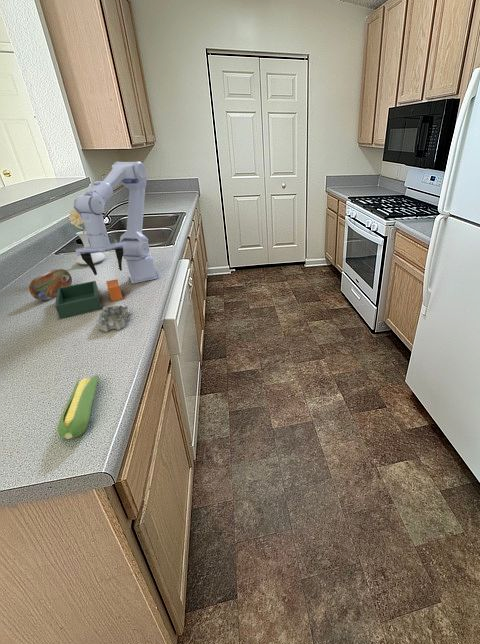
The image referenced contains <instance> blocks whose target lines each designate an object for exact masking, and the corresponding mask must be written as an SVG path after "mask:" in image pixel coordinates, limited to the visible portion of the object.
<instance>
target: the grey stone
mask: <svg viewBox="0 0 480 644" xmlns="http://www.w3.org/2000/svg"><path fill="white" fill-rule="evenodd" d="M128 310H129V307H128V305H124V306H123V305H110V306H106V305H105V306H103V308H102V310H101V311H100V313H99V315H98V317H97V318H96V319H95V323H96V324H97V326H99V329H100V331H103V332H105V333H107V332H109V331H111V330H113V329H116V330H117V331H119V330H121V329H123V328H125V327H126V323H127V322H128V317H129V316H130V314H129V311H128Z"/></svg>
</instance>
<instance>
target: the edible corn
mask: <svg viewBox="0 0 480 644" xmlns="http://www.w3.org/2000/svg"><path fill="white" fill-rule="evenodd" d="M80 376H81V375H79V376H78V378H77V380H76V383H75V385H74V388H73V390H72V392H71V395H70V396H69V399H68V401H67V403H66V405H65V407H64V409H63V411H62V414H61V415H60V419H59V422H58V425H57V433H58V435H59V437H60V438H62V439H65V440H67V439H68V440H69V439H74V438H77V437H79V436H81V435H83V434H84V433H85V432H86V431H87V429H88V426H89V423H90V419H91V415H92V410H93V406H94V401H95V395H96V391H97V386H98V383H99V382H98V381H99V374H97V375H93V377H91V378H90V377H84V378H82V379H81V380H80V378H81V377H80Z"/></svg>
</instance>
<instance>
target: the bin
mask: <svg viewBox="0 0 480 644" xmlns="http://www.w3.org/2000/svg"><path fill="white" fill-rule="evenodd" d="M100 295H101V294H100V291H99V286H98V284H97V281H96V280H92V281H87V282H82V283H77V284H71V286H66V287H61V288H58V289H57V296H56V297H55V305H54V307H55V309H56V312H57V315H58V317H59V320H60V319H64V318H69V317H73V316H78V315H82V314H85V313H90V312H94V311H99V310H101V309H102V303H101V296H100Z"/></svg>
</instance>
